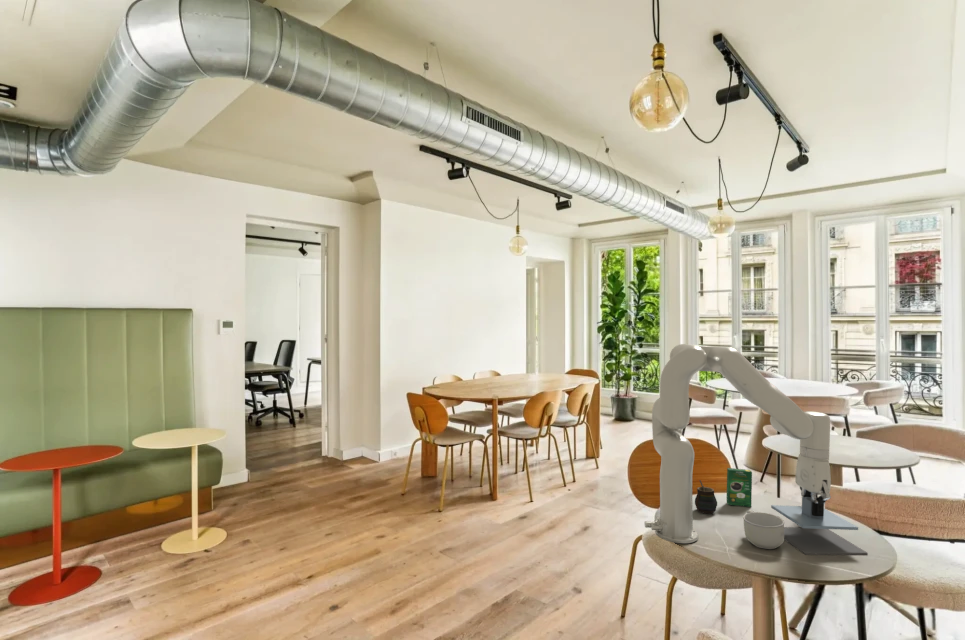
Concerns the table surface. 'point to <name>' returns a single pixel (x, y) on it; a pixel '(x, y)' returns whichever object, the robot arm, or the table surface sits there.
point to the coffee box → (739, 487)
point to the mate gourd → (705, 500)
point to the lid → (807, 520)
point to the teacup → (764, 529)
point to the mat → (820, 542)
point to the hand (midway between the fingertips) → (812, 512)
